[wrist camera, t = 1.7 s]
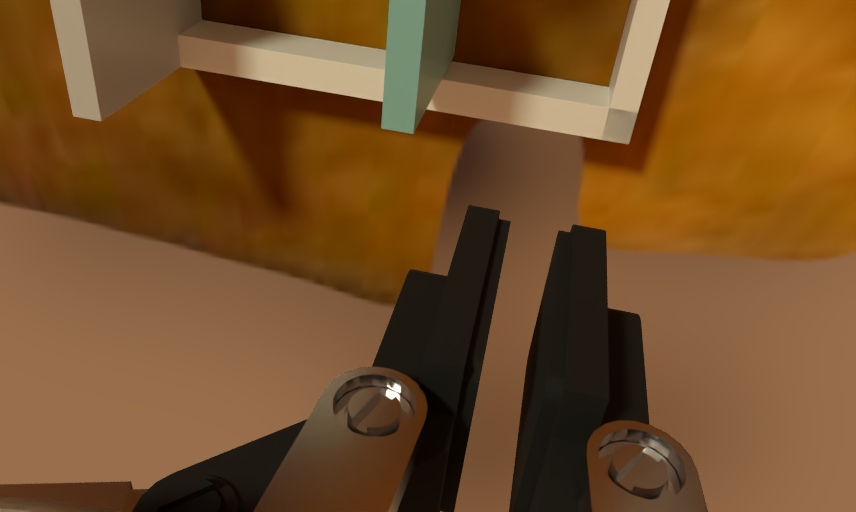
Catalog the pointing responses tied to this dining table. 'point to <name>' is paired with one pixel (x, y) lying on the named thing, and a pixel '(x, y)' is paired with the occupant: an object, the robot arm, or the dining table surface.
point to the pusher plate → (416, 58)
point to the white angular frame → (332, 66)
